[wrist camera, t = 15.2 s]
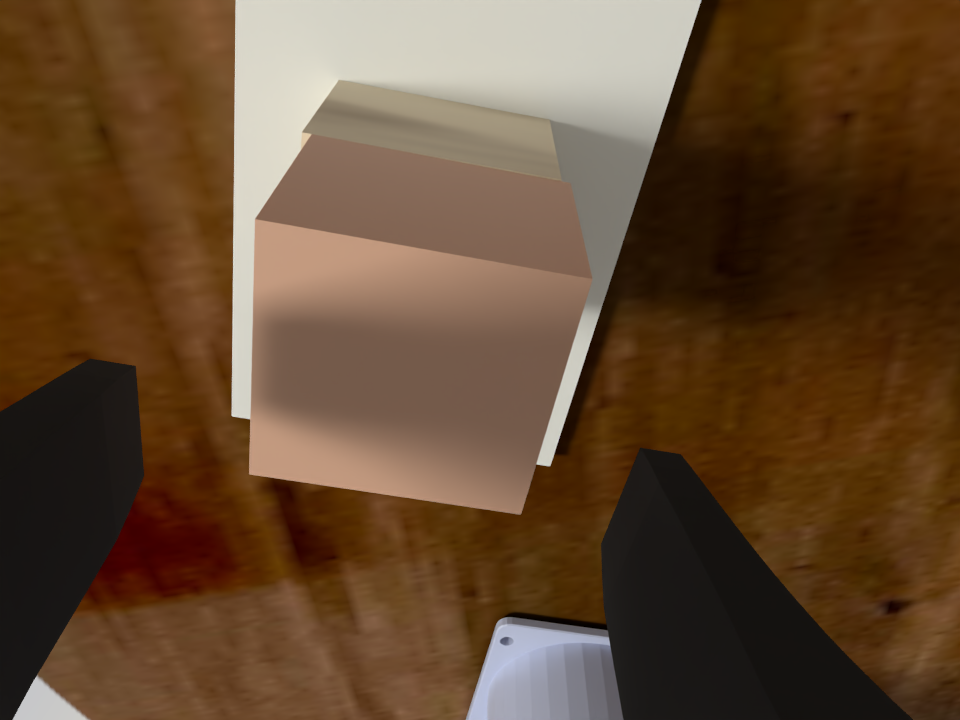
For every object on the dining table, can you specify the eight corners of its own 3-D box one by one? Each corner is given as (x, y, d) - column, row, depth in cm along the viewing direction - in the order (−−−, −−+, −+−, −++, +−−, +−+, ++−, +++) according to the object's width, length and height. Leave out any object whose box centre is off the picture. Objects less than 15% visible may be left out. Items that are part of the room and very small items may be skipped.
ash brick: (508, 300, 21) (510, 386, 17) (324, 270, 20) (291, 351, 17) (549, 119, 18) (561, 179, 15) (338, 79, 17) (301, 132, 14)
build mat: (549, 453, 24) (550, 466, 24) (237, 404, 24) (231, 415, 23) (732, -121, 16) (740, -121, 15) (246, -236, 15) (238, -238, 14)
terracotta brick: (516, 388, 17) (520, 514, 14) (297, 352, 17) (249, 473, 14) (570, 182, 15) (592, 278, 11) (311, 134, 14) (254, 219, 11)
